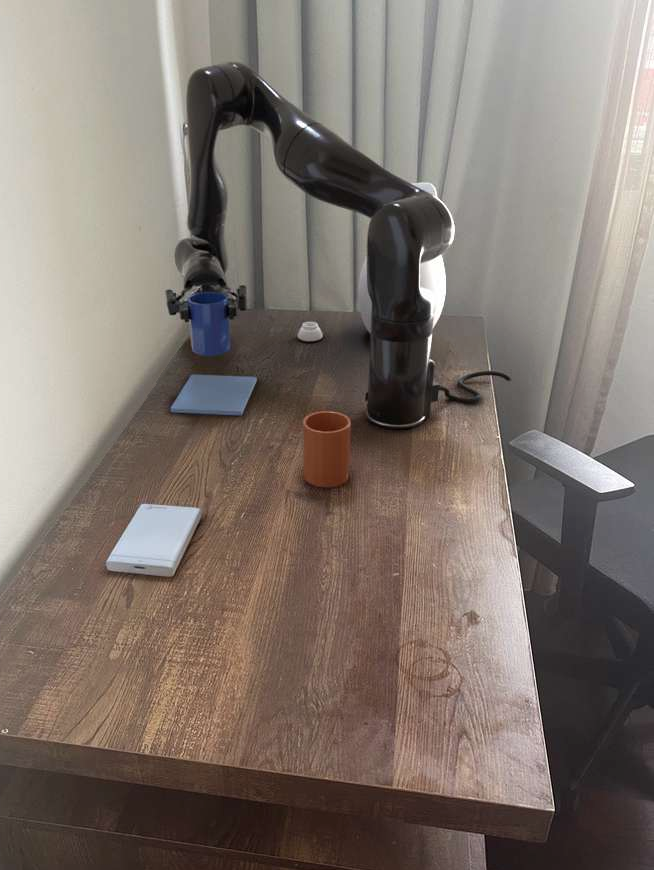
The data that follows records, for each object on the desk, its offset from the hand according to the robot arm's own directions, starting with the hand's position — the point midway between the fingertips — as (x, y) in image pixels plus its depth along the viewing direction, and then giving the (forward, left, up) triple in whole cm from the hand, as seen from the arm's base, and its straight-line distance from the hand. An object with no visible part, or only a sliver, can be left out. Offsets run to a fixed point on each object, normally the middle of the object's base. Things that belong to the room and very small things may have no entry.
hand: (209, 314), depth 117 cm
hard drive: (+19, +36, -15) cm, 43 cm away
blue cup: (-1, -2, -6) cm, 7 cm away
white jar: (-27, -20, -15) cm, 37 cm away
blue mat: (-1, -2, -15) cm, 15 cm away
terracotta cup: (-7, +30, -15) cm, 34 cm away
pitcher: (-42, -11, -15) cm, 46 cm away
